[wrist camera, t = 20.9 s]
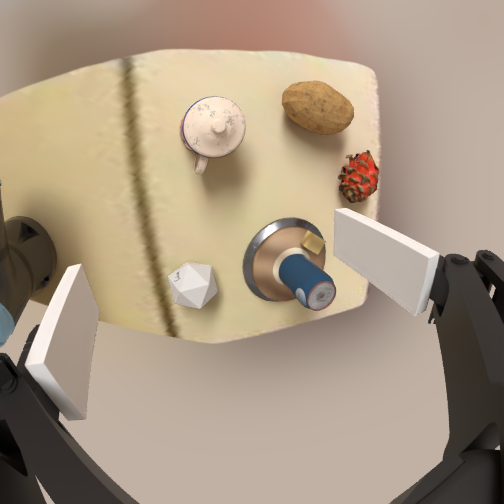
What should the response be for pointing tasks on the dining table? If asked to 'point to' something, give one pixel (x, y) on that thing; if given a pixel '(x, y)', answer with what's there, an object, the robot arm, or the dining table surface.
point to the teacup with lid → (212, 129)
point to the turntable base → (261, 236)
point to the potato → (317, 107)
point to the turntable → (276, 251)
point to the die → (193, 284)
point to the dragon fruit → (359, 177)
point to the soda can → (307, 282)
